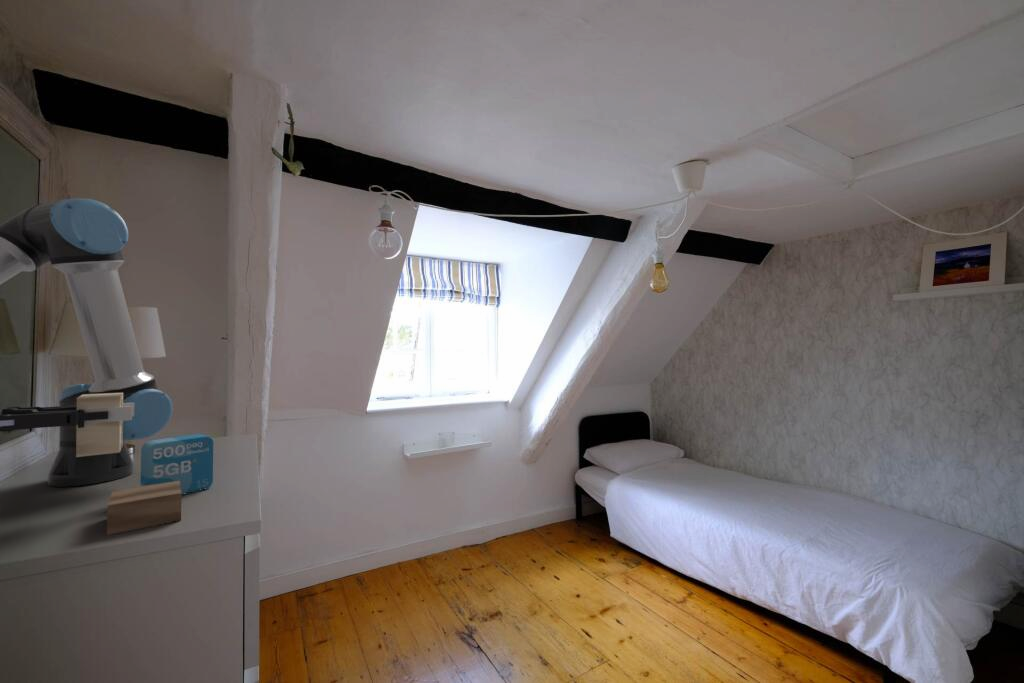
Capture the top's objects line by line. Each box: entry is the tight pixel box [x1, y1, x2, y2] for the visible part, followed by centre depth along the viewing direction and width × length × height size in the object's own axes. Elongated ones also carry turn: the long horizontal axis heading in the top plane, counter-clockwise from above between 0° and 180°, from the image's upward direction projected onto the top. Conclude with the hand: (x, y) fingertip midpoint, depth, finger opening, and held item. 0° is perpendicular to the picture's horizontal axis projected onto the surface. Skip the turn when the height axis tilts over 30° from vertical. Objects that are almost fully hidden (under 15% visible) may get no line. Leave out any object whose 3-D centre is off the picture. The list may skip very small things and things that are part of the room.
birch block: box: [76, 393, 123, 457], centre depth 85 cm, size 6×6×11 cm
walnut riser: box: [106, 481, 182, 536], centre depth 81 cm, size 10×10×5 cm
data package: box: [140, 433, 214, 495], centre depth 96 cm, size 12×4×12 cm, turn 144°
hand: (132, 411), depth 88 cm, fingers closed on birch block, 6 cm apart
